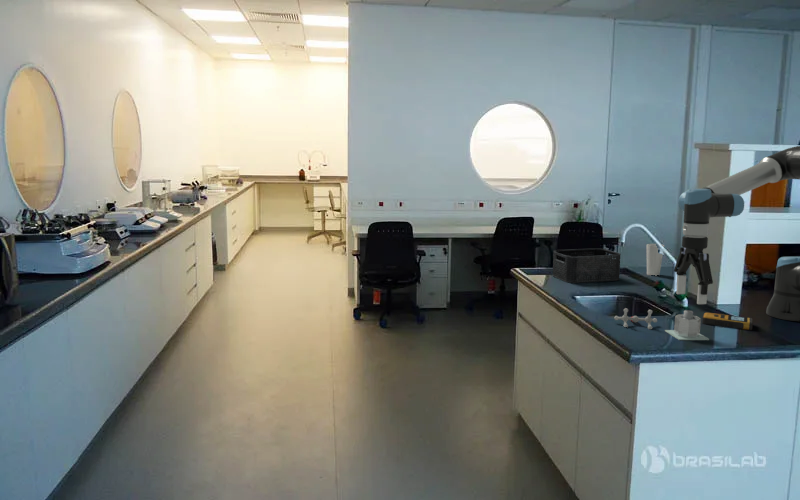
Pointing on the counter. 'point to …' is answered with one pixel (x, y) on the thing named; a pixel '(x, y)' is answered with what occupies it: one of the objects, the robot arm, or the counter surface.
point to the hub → (687, 326)
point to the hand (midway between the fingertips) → (690, 298)
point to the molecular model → (636, 318)
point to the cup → (653, 260)
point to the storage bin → (586, 265)
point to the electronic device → (727, 321)
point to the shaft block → (687, 315)
